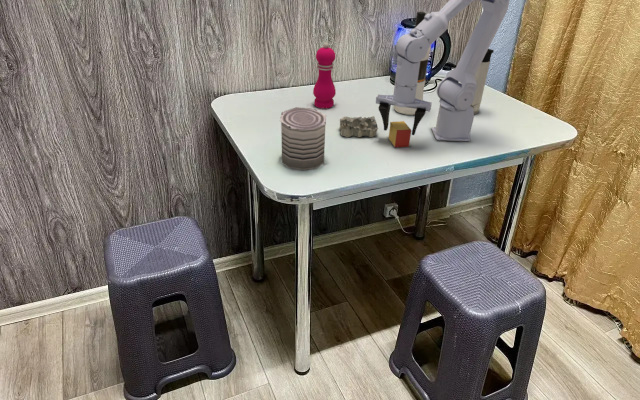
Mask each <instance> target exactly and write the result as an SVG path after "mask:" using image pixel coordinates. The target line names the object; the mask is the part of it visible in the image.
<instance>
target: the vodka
mask: <svg viewBox="0 0 640 400" xmlns="http://www.w3.org/2000/svg"><path fill="white" fill-rule="evenodd" d="M425 15H427V13H426V12H425V11H417V12H416V17H415V24H414V28H415V27H416V26H417V25H418V24H420V23H421V22H422V21H423V20H424V19H425V17H424V16H425ZM431 50H432V44H431V45H430V47H429V48H428V50H427V54H426V56H425V57H424V58H423V59H422V60H421V61H420V68H419V74H418V81H417V88H416V95H415V98H416V99H420V100H423V101H424V90H425V85H426V83H427V81H426V76H427V71H428V70H427V69H428V63H429V59H430V53H431ZM393 109H394V111H396V112H397V113H398V114H402V115H404V116H405V115H406V116H415V112H416V110H417V109H414V108H408V107H398V106H395V105H393Z"/></svg>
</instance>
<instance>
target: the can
mask: <svg viewBox="0 0 640 400" xmlns="http://www.w3.org/2000/svg"><path fill="white" fill-rule="evenodd" d="M279 122H280V125H281V126H280V128H281V129H280V131H281V134H280V136H281V163H282V164H283V165H284V166H286V167H287V168H288V169H291V170H298V171H309V170H316V169H318V168H320V167H321V166H322V165H324V164H325V147H326V145H325V144H326V125H327V115H326V114H324V113H322V112H321V111H319V110H317V109H316V108H312V107H311V108H310V107H298V106H296V107H293V108H290V109H287V110H284V111H281V114H280V118H279Z"/></svg>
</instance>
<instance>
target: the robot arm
mask: <svg viewBox="0 0 640 400" xmlns="http://www.w3.org/2000/svg"><path fill="white" fill-rule="evenodd" d="M475 1H476V0H448V1H447V2H446V3H445V4H444V5H443V6H442V8H441V9H440V10H438V11H431V12H430V13H426V15H425V16H424V17H425V19H424V20H423V21H422V22H421V23H420V24H418V25H417V26H416V27H415V26H414V28H412V29H411V30H410V31H409V33H406V34H403V35H401V36H400V37H399V38H398V39H397V42H396V44H394V45H393V47H394V48H393V49H394V52H395V54H396V56H397V57H396V58H397V59H396V61H397V62H396V70H395V77H394V87H393V94H377V95H376V97H375V104H377V105H379V106H378V111H379V113H380V116H381V119H382V123H383V130H384V131H387V130H388V129H389V125H390V122H389V121H390V111H391V107H392V106H394V105H395V106H398V107H408V108H414V109H417V110H416V112H415V115H413V116H414V118H413V125H412V129H411V136H415V134H416V132H417V128H418V126H419V124H420V122H421V120H422V119H423V118H424V117H425V115H426V113H428V112H429V113H430V112H431V110H432V104H433V102H432V101H427V100H424V99H423V100H420V99H416V98H415V95H416V88H417V81H418V74H419V68H420V61H421V60H422V59H423V58H424V57H425V56H426V54H427V50H428V48H429V47H430V45H431V46H432V44H434V42H435V41H436V40H438V38H440V37H441V36H442V35H443V34H444V33H445V32H446V31H447V30H448V26H449V25H448V24H449V22H451V20H452V19H454V18H455V17H456V16H458V14H459V13H461V12H462V11H463V10H464V9H466V8H467V7H468V6H469V5H470V4H472V3H473V2H475ZM479 1H480V4H481V7H482V12H481V14H480V16H479V19H478V21H477V23H476V24H475V27H474V28H473V31H472V32H471V35H470V37H469V40H468V42H467V43H466V45H465V48H464V50H463V52H462V54H461V56H460V59H459V60H458V63H456V64H457V65H456V67H455V68H453V69H451V70H449V71H448V72H447V73H446V75H445V76H444V78H443V79H442V80H440V82H439V83H438V85H437V88H436V96H437V97H438V98H439V101H438V103H439V108H438V113H437V119H436V124H435V125H436V126H432V127H431V131H432V133H433V136H434V138H435V140H436V141H448V142H449V141H450V142H451V141H452V142H470V140H471V139H470V136H471V132H472V128H473V123H474V116H475V114H474V111H473V108H472V107H471V104H472V103H473V101H474V98H475V91H476V89H477V87H478V86H477V82H476V79H475V74H476V72H477V70H478V68H479V66H480V64H481V62H482V60H483V58H484V56H485V54H486V52H487V50H488V49H490V47H491V44H492V43H493V41H494V38H495V37H496V34H497V32H498V30H499V28H500V26H501V24H502V23H503V20H504V18H505V17H506V15H507V12H508V10H509V5H510V0H479Z"/></svg>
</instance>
